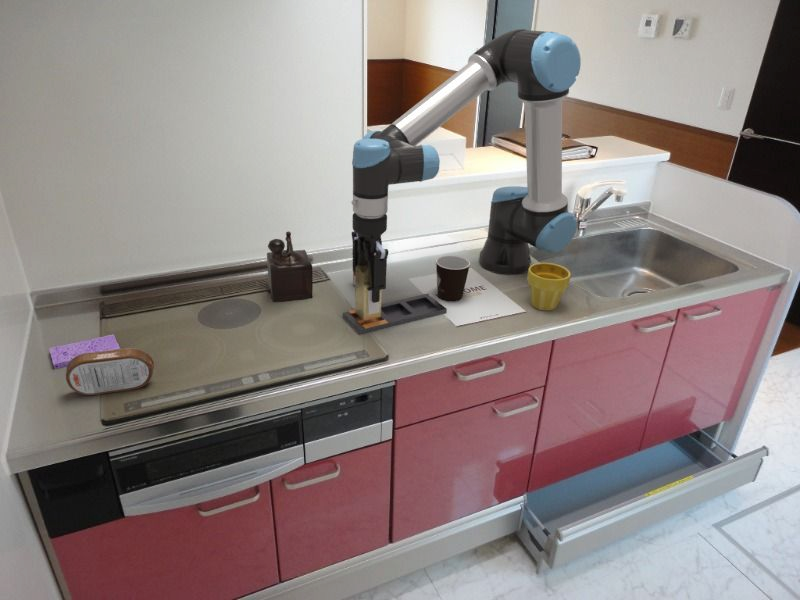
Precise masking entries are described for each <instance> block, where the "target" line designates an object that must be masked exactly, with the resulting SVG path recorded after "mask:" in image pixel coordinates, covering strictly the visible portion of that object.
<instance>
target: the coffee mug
mask: <svg viewBox="0 0 800 600" xmlns="http://www.w3.org/2000/svg"><path fill="white" fill-rule="evenodd" d="M470 266H471V262H470V261H469V260H468V259H466V258H464V257H462V256H458V255H442V256H439V257H438V258H436V261H435V267H436V289H437V297H438V299H439V300H441V301H445V302H449V303H451V302H453V303H454V302H455V303H456V302H460V301H461V300H462V298H463V295H464V291H465V288H466V287H465V286H466V283H467V279H468V275H469V270H470Z"/></svg>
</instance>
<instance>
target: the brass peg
mask: <svg viewBox="0 0 800 600" xmlns="http://www.w3.org/2000/svg"><path fill="white" fill-rule="evenodd" d="M368 287H370V282H369V271H368V264H365V265H360V266H356V268H355V286H354V288H355V289H354V290H355V291H354V293H355V295H354V299H355V301H354V309H355V313H356V314H357V315H358V316H359V317H360V318H361V319H362V320H363V321H365V320H370V319H374V318H378V317H381V304H382V292H383V291H382V290H383V289H382V290H380V302H379V312H378V313H374V314H370V315H369V314H368V313H367V305H368V290H367V288H368Z"/></svg>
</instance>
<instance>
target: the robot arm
mask: <svg viewBox="0 0 800 600" xmlns="http://www.w3.org/2000/svg"><path fill="white" fill-rule="evenodd" d="M581 62H582V59H581V54H580V51H579V47H578V45H577V44H576V43H575V41H574V40H573V39H572V38H571V37H569V36H567V35H566V34H563V33H559V32H555V31H539V30H531V29H530V30H529V29H523V28H517V29H513V30H509V31H506V32H504V33H502V34H500V35H498V36H497V37H495V38H494V39H492V40H490V41H488V42H487V43H486V44H484V45H483V46H482V47H480V48H478V50H476V51H475V52H474V53H472V54H471V55H470V56H469V57H468V59H467V64H465V65H463V67H461V69H459V70H458V71H457V72H455V73H454V74H453V75H452V76H450V77H449V78H447V79H446V80H445V81H443V83H441V84H440V85H439V86H438V87H436V88H435V89H434V90H432V91H431V92H430V93H429V94H427V95H426V96H425V97H424V98H422V99H421V100H420V101H419V102H417V103H416V104H415V105H413V106H412V107H411V108H410V109H408V110H407V111H406V112H405V113H404V114H402V115H401V116H400V117H399V118H397V119H395V121H393V122H392V123H391V124H389V125H388V126H387V127H385V128H384V129H383V130H372V131H369V132H367V133H366V134H365V135H364V136H363V137H362V139H359V140H357V141H355V143H354V144H353V151H352V161H351V165H352V200H351V202H350V203H351V204H352V212H353V214H352V231H351V240H352V273H353V272H355V268H356V266H360V265H365V264H368V271H369V282H370V287H368V288H367V290H368V305H367V313H368V314H369V315H370V314H374V313H378V312H379V302H380V290H385V289H387V265H388V263H387V262H388V261H387V260H388V257H389V249H387V248H383V246H382V245H383V242H382V236H383V234H384V233H385V232H387V230H388V229H387V228H388V215H387V213H388V205H389V201H388V200H389V199H388V198H389V185H399V184H408V183H417V182H419V183H421V182H424V181H428V180H429V181H430V180H432V179H435V178H436V177H437V175H438V173H439V170H440V164H441V163H440V162H441V161H440V157H439V156H440V155H439V153H438V151H437V149H436V148H435V147H434V146H432V145H430V144H429V145H428V144H425V145H424V144H420V143H421V142H423V141H424V140H425V139H426V138H428V137H429V136H431V134H432V133H434V132H435V131H437V130H438V129H439V128H441V126H443V125H444V124H446V123H447V122H448V121H449V120H450V119H451V118H453V117H454V116H455V115H457V114H458V113H459V112H460V111H461V110H463V109H464V108H465V107H467V106H468V105H470V103H471V102H473V101H474V100H476V99H477V98H478V97H479V96H481V95H482V94H483V93H484V92H485V91H494V90H495V89H496V88H497V87H499V86H500V85H502V84H505V83H515V84H517V98H518V100H519V101H520V102H522V103H523V104H524V119H525V121H524V122H525V123H524V124H525V126H524V127H525V151H526V152H525V154H526V155H525V156H526V158H525V159H526V183H527V184H526V185H527V186H521V185H520V186H519V185H516V186H514V185H513V186H512V185H511V186H510V185H509V186H501V187H499V188H497V189H495V190H494V191H493V194H492V198H491V201H490V212H489V221H488V231H487V238H486V240H485V242H484V245H483V247H482V249H481V251H480V253H479V255H478V256H479V257H478V264H479V266H481V268H484V269H485V270H488V271H490V272H493V273H497V274H501V275H502V274H503V275H519V274H523V273H526V272H528V269H529V267H530V266H531V265H532V264H531V263H532V259H531V253H530V247H529V245H530V246H532V247H533V248H536V249H537V250H539V251H543V252H545V253H549V254H555V253H558V252H560V251H561V250H563V249H564V248H565V247H567V246H568V245H569V244H570V242H571V241H572V240H573V238H574V236H575V235H576V232H577V228H578V219H577V217H576V216H575V215H574V214H573V213H572V212H569V209H568V207H569V202H568V197H567V196H566V195H565V194H564V193H563V101H564V99H565V98H566V97H568V95H569V94H570V89H571V87H572V86H573V85H574V84H575V82H576V81H577V78H576V77H578V76H579V74H580V71H581ZM371 255H374V256H371Z"/></svg>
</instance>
